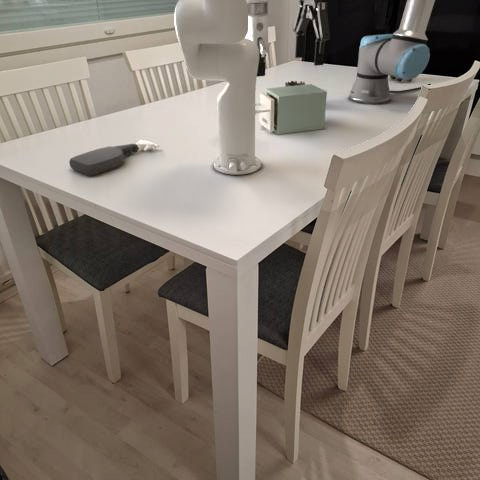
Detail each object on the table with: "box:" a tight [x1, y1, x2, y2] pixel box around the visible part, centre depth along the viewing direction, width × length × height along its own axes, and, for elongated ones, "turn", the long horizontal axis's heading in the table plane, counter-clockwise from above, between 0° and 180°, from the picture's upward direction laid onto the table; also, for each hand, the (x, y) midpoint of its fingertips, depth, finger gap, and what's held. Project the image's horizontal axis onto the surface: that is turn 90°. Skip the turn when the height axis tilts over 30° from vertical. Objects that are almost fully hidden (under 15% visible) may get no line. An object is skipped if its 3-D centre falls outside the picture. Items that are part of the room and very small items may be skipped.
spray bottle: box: [68, 139, 160, 177], centre depth 124 cm, size 3×11×24 cm
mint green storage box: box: [265, 83, 328, 135], centre depth 144 cm, size 16×11×12 cm
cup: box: [284, 80, 306, 87], centre depth 167 cm, size 8×7×8 cm
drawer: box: [255, 92, 278, 133], centre depth 143 cm, size 21×10×10 cm, turn 108°
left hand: (254, 72), depth 135 cm, fingers open, 9 cm apart
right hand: (308, 61), depth 138 cm, fingers open, 13 cm apart
